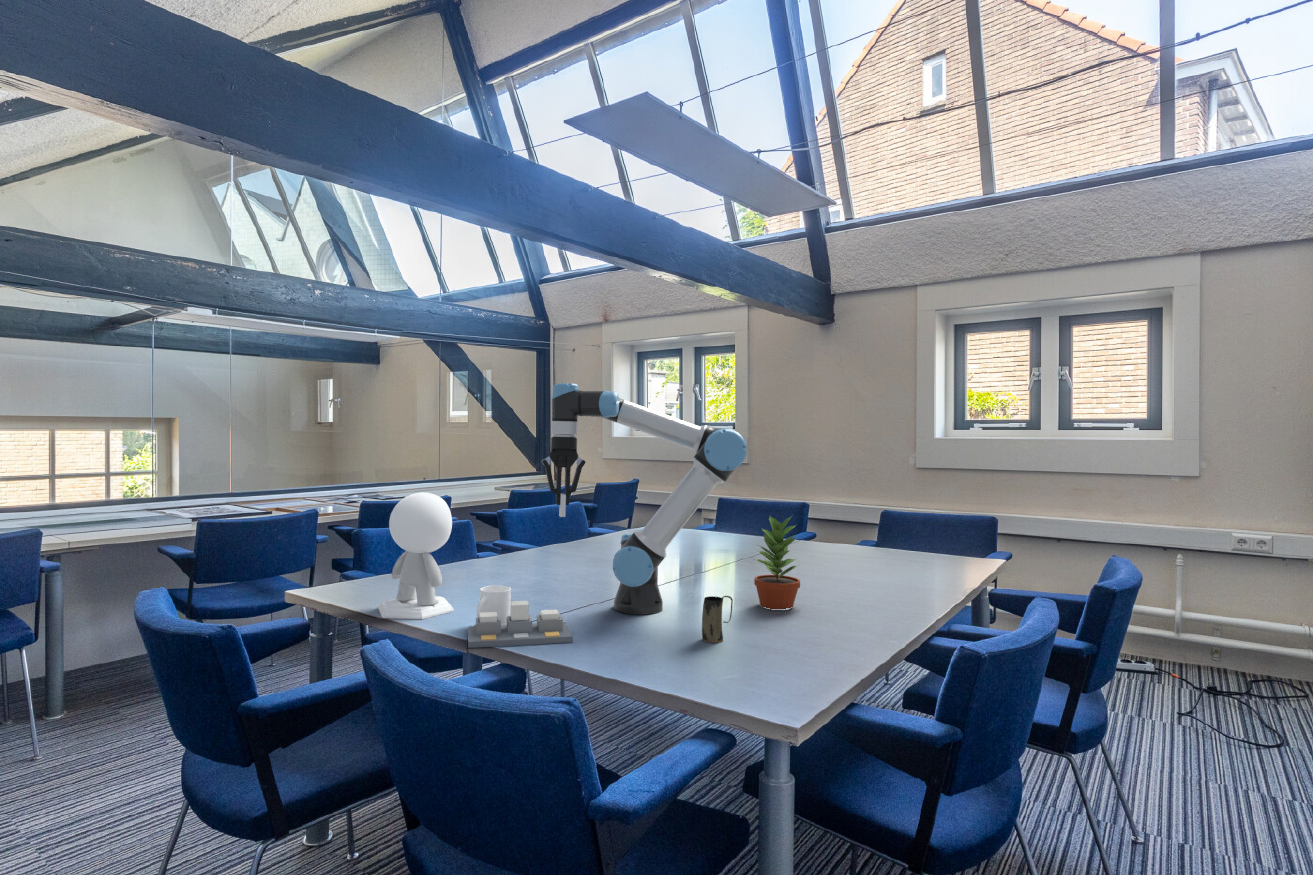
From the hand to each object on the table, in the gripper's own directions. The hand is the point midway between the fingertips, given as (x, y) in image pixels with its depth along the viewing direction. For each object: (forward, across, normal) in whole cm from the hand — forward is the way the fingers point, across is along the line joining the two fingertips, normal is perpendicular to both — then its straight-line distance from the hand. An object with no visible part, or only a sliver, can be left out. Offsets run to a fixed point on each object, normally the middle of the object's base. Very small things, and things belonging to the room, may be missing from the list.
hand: (562, 516), depth 203 cm
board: (+29, +13, +19) cm, 37 cm away
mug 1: (+30, +20, +8) cm, 37 cm away
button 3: (+28, +21, +17) cm, 39 cm away
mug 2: (+30, -37, +31) cm, 57 cm away
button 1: (+28, +5, +18) cm, 33 cm away
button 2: (+25, +13, +17) cm, 33 cm away
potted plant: (+30, -69, 0) cm, 75 cm away
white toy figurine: (+30, +41, -14) cm, 53 cm away
